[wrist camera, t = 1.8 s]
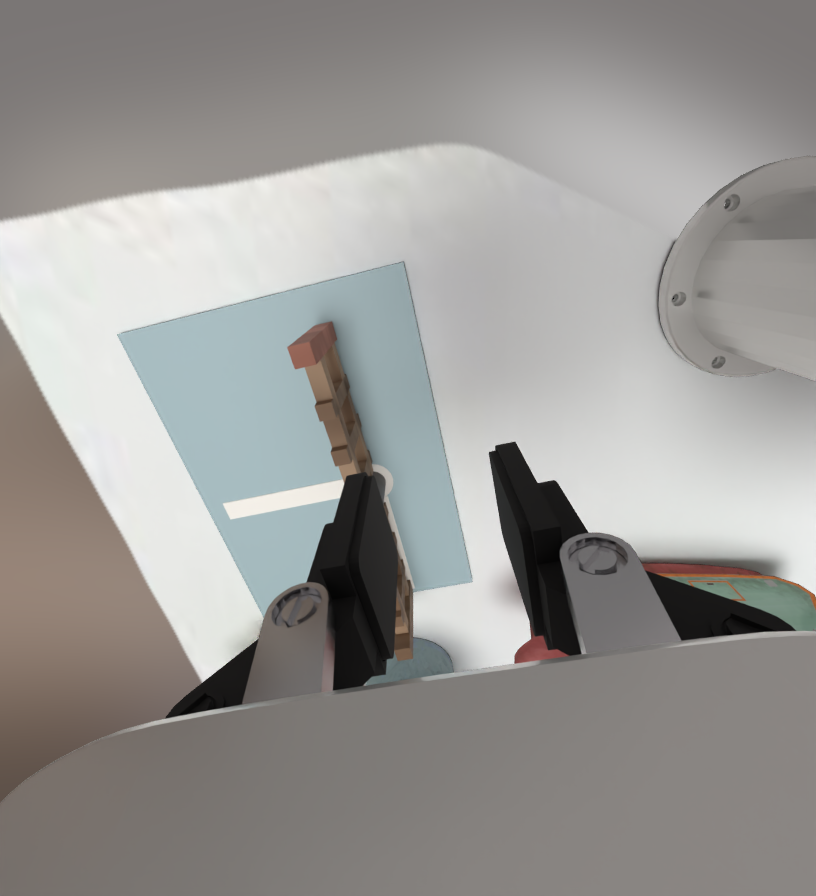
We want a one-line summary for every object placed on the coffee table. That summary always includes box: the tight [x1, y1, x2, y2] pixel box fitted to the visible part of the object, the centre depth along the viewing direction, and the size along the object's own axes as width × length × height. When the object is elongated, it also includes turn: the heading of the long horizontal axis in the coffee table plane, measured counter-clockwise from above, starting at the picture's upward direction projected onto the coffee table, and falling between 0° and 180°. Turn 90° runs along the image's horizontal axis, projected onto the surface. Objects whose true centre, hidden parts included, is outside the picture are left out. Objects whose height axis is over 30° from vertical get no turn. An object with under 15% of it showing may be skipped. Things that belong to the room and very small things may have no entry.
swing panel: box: [287, 321, 373, 483], centre depth 27 cm, size 11×1×7 cm, turn 13°
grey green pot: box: [366, 638, 454, 686], centre depth 38 cm, size 10×10×12 cm
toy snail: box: [515, 563, 816, 664], centre depth 32 cm, size 25×8×14 cm, turn 90°
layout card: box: [117, 262, 472, 617], centre depth 33 cm, size 20×27×1 cm
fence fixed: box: [373, 471, 413, 661], centre depth 32 cm, size 13×2×8 cm, turn 13°
